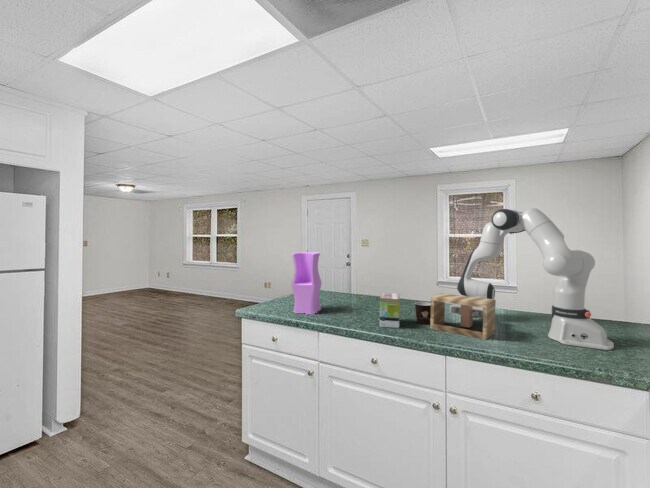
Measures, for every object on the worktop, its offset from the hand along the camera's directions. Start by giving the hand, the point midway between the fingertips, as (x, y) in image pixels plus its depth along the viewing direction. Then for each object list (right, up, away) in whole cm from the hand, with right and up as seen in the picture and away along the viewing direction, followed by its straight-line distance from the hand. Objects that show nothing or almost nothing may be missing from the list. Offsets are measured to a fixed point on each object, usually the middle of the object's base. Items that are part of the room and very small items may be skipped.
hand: (466, 314), depth 163 cm
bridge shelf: (-4, -7, -4) cm, 9 cm away
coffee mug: (-17, -7, +9) cm, 20 cm away
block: (+1, -6, +1) cm, 6 cm away
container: (-80, -6, +35) cm, 88 cm away
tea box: (-36, -7, +9) cm, 38 cm away
